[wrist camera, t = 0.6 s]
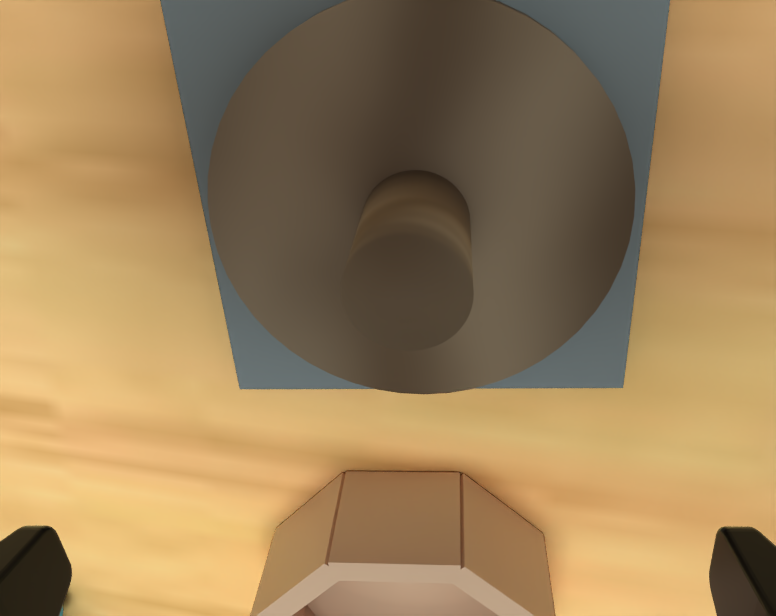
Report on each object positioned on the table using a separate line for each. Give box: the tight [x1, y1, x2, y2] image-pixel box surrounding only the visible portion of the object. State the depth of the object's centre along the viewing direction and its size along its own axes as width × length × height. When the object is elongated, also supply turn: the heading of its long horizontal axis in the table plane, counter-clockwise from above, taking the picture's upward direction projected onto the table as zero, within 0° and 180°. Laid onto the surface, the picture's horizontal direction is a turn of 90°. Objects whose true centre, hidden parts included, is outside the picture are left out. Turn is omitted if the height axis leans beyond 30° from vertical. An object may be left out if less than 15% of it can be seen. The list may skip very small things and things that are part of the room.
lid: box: [208, 0, 635, 394], centre depth 17 cm, size 11×11×5 cm
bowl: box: [250, 471, 555, 616], centre depth 25 cm, size 10×10×4 cm
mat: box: [160, 0, 670, 389], centre depth 19 cm, size 12×12×1 cm
